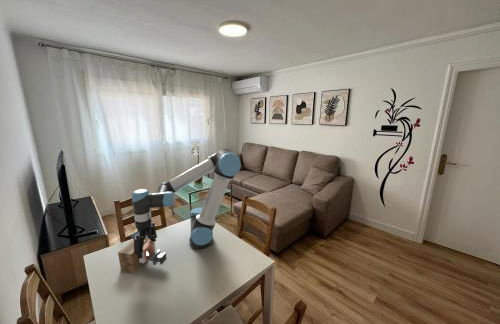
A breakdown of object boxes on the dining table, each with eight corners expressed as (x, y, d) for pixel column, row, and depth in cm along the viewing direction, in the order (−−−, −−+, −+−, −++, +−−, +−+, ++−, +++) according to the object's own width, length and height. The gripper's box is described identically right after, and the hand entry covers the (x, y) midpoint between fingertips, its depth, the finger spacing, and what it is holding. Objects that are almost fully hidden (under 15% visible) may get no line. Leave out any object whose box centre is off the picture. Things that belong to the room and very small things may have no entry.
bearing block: (149, 256, 118) (147, 240, 115) (134, 272, 106) (131, 254, 103) (137, 254, 119) (134, 238, 116) (120, 270, 108) (117, 252, 105)
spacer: (154, 253, 113) (153, 241, 111) (145, 262, 106) (143, 250, 104) (149, 252, 114) (148, 240, 112) (140, 261, 106) (138, 249, 105)
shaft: (167, 259, 111) (166, 251, 110) (161, 266, 106) (160, 257, 105) (138, 254, 114) (137, 246, 113) (131, 261, 109) (130, 253, 108)
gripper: (149, 209, 115) (153, 244, 120) (121, 228, 95) (127, 269, 100) (161, 210, 113) (165, 245, 119) (135, 230, 94) (140, 272, 99)
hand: (147, 256), depth 110 cm, fingers closed on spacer, 8 cm apart
